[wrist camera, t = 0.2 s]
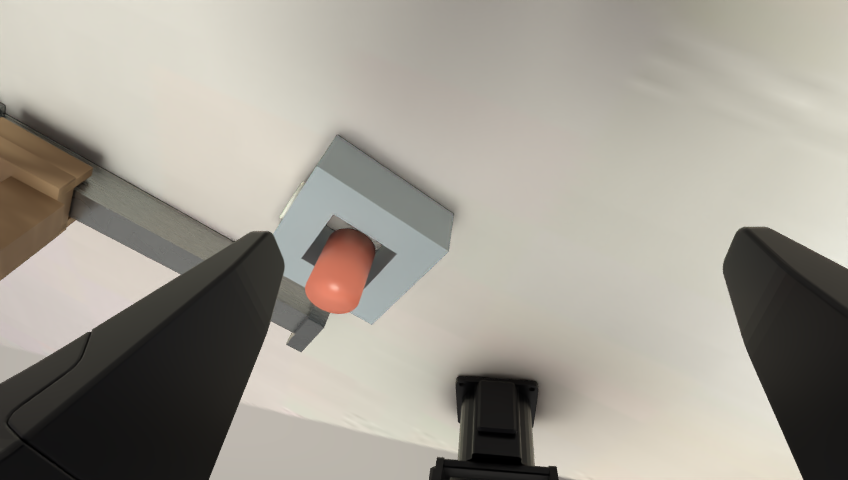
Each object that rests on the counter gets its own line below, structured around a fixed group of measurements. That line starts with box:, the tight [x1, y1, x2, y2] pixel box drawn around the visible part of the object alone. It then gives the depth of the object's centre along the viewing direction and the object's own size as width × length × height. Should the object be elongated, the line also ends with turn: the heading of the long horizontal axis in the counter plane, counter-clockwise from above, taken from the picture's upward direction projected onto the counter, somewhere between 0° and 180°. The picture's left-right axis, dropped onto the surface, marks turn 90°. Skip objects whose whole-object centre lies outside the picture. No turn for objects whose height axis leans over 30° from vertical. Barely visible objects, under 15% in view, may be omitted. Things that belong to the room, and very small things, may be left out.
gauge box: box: [273, 135, 454, 325], centre depth 26 cm, size 8×8×4 cm
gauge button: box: [305, 228, 375, 314], centre depth 23 cm, size 3×3×4 cm
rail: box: [0, 103, 330, 352], centre depth 28 cm, size 24×4×3 cm, turn 54°
